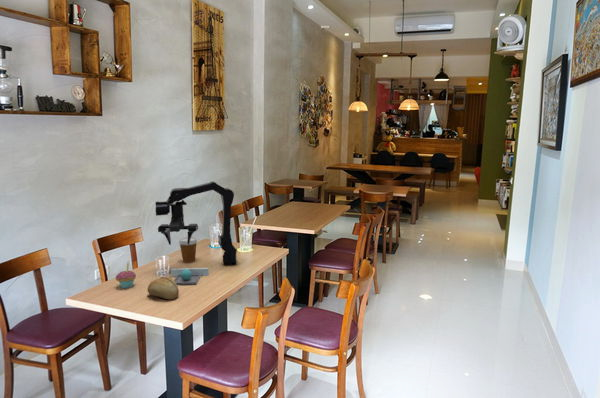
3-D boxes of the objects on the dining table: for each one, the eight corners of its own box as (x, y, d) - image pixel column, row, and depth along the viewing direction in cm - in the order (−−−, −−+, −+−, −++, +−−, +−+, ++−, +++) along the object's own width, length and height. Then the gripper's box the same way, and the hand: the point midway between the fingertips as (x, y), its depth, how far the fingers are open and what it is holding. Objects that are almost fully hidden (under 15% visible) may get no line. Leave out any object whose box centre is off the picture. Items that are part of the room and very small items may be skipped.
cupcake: (140, 284, 207) (138, 259, 205) (128, 290, 199) (125, 264, 197) (125, 282, 210) (123, 257, 208) (112, 288, 202) (110, 262, 200)
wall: (209, 274, 218) (208, 267, 218) (208, 275, 217) (208, 268, 216) (172, 275, 218) (171, 268, 217) (171, 276, 217) (170, 269, 216)
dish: (200, 276, 216) (200, 274, 215) (195, 284, 205) (195, 282, 204) (177, 277, 215) (177, 274, 215) (171, 285, 205) (171, 282, 204)
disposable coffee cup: (195, 263, 236) (194, 241, 234) (177, 263, 236) (176, 241, 234) (200, 258, 246) (198, 237, 244) (182, 258, 246) (181, 237, 244)
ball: (193, 277, 212) (192, 267, 212) (190, 281, 208) (189, 270, 207) (182, 278, 212) (181, 268, 212) (179, 281, 207) (178, 271, 207)
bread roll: (158, 290, 199) (157, 272, 198) (185, 295, 193) (184, 277, 192) (142, 297, 191) (140, 279, 189) (169, 303, 184) (168, 284, 183)
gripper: (153, 217, 214) (155, 249, 217) (192, 217, 215) (194, 248, 217) (160, 213, 225) (162, 243, 228) (197, 212, 226) (199, 242, 228)
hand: (179, 244), depth 225 cm, fingers open, 9 cm apart
